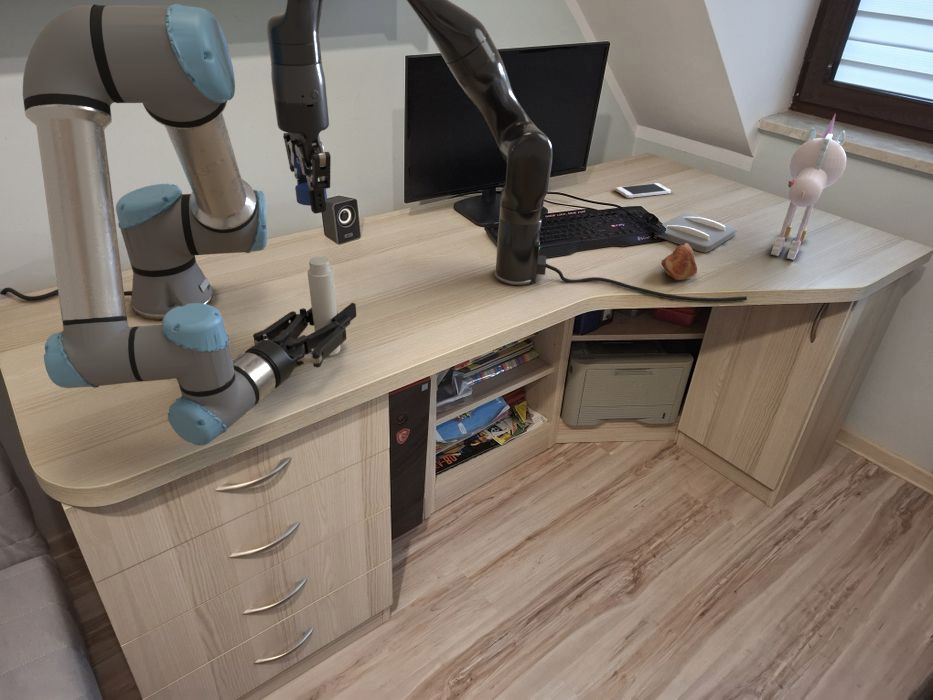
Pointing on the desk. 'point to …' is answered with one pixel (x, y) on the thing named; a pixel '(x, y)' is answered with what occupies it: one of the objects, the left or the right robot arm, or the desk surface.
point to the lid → (304, 194)
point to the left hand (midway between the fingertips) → (342, 306)
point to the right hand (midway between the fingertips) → (312, 206)
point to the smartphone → (642, 190)
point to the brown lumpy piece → (680, 263)
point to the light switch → (697, 232)
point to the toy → (811, 180)
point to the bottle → (322, 293)
